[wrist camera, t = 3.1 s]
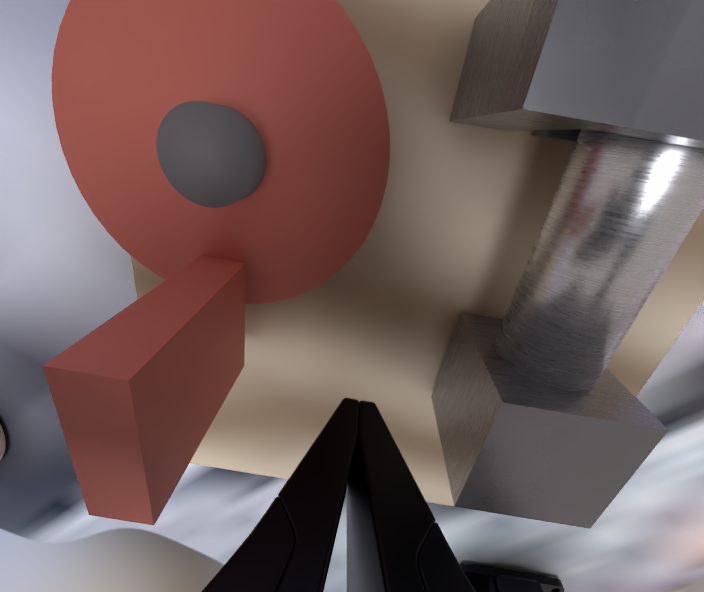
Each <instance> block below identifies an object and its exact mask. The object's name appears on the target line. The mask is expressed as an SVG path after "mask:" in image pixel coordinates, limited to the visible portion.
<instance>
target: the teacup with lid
mask: <svg viewBox="0 0 704 592" xmlns="http://www.w3.org/2000/svg"><path fill="white" fill-rule="evenodd" d="M5 447H6V440H5V435H4V432H3V429H2V427H1V425H0V461H1V459H2V457H3V455H4V452H5Z"/></svg>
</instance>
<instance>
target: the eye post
mask: <svg viewBox="0 0 704 592" xmlns="http://www.w3.org/2000/svg"><path fill="white" fill-rule="evenodd" d="M449 121H450V122H456V123H462V124H467V125H473V126H479V127H484V128H490V129H496V130H501V131H522V130H533V131H532V134H531V136H535V137H541V138H547V139H553V140H558V141H564V142H570V143H576V141H577V139H578V136H579V134H580V131H581V129H594V130H600V131H605V132H611V133H617V134H622V135H628V136H634V137H639V138H645V139H651V140H656V141H662V142H668V143H673V144H679V145H685V146H690V147H696V148H702V149H704V0H490V1H489V2H488V3H487V4H486V6H485V7H484V8H483V9H482V10H481V11H480V13H479V14H478V15H477V16H476V17H475V21H474V25H473V29H472V33H471V37H470V41H469V45H468V49H467V53H466V56H465V60H464V64H463V68H462V72H461V76H460V80H459V84H458V88H457V92H456V96H455V100H454V104H453V108H452V112H451V116H450V120H449Z"/></svg>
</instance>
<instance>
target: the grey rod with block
mask: <svg viewBox="0 0 704 592" xmlns="http://www.w3.org/2000/svg"><path fill="white" fill-rule="evenodd" d="M703 208H704V149H702V148H696V147H690V146H685V145H679V144H673V143H668V142H662V141H656V140H651V139H645V138H639V137H634V136H628V135H622V134H617V133H611V132H605V131H600V130H594V129H581V131H580V134H579V136H578V139H577V141H576V143H575V146H574V148H573V151H572V153H571V156H570V158H569V161H568V163H567V165H566V168H565V170H564V173H563V175H562V178H561V180H560V182H559V185H558V187H557V190H556V192H555V195H554V197H553V199H552V202H551V204H550V207H549V209H548V212H547V214H546V216H545V219H544V221H543V224H542V226H541V229H540V231H539V233H538V236H537V238H536V241H535V243H534V246H533V248H532V250H531V253H530V255H529V258H528V260H527V263H526V265H525V267H524V270H523V272H522V275H521V277H520V280H519V282H518V285H517V287H516V289H515V292H514V294H513V297H512V299H511V302H510V304H509V306H508V309H507V311H506V314H505V316H504V319H499V318H493V317H487V316H481V315H475V314H469V313H464V312H460V314H459V317H458V320H457V322H456V325H455V328H454V331H453V334H452V337H451V340H450V343H449V346H448V349H447V352H446V355H445V358H444V361H443V363H442V366H441V369H440V372H439V375H438V378H437V381H436V384H435V387H434V390H433V393H432V396H431V398H432V403H433V408H434V413H435V417H436V422H437V427H438V432H439V436H440V441H441V446H442V451H443V455H444V460H445V465H446V470H447V474H448V479H449V484H450V489H451V493H452V498H453V503H454V506H455V507H461V508H468V509H474V510H480V511H486V512H492V513H498V514H504V515H510V516H517V517H523V518H529V519H535V520H541V521H547V522H553V523H559V524H566V525H572V526H578V527H584V528H591V527H592V525H593V524H594V523H595V522H596V520H597V519H598V518H599V517H600V515H601V514H602V513H603V512H604V510H605V509H606V508H607V507H608V505H609V504H610V503H611V502H612V500H613V499H614V498H615V497H616V495H617V494H618V493H619V491H620V490H621V489H622V488H623V486H624V485H625V484H626V483H627V481H628V480H629V479H630V478H631V476H632V475H633V474H634V473H635V471H636V470H637V469H638V468H639V466H640V465H641V464H642V463H643V461H644V460H645V459H646V458H647V456H648V455H649V454H650V453H651V451H652V450H653V449H654V448H655V446H656V445H657V444H658V443H659V441H660V440H661V439H662V438H663V436H664V435H665V434H666V433H667V431H668V429H667V428H666V427H665V426H664V425H663V424H662V423H661V422H660V421H659V420H658V419H657V418H656V417H655V416H654V415H653V414H652V413H651V412H650V411H649V410H648V409H647V408H646V407H645V406H644V405H643V404H642V403H641V402H640V401H639V400H638V399H637V398H636V397H635V396H634V395H633V394H632V393H631V392H630V391H629V390H628V389H627V388H626V387H625V386H624V385H623V384H622V383H621V382H620V381H619V380H618V379H617V378H616V377H615V376H614V375H613V374H612V373H611V372H610V371H609V370H608V369H607V368H606V366H607V365H608V363H609V362H610V360H611V358H612V357H613V355H614V353H615V352H616V350H617V348H618V347H619V345H620V344H621V342H622V340H623V339H624V337H625V335H626V334H627V332H628V331H629V329H630V327H631V326H632V324H633V322H634V321H635V319H636V317H637V316H638V314H639V313H640V311H641V309H642V308H643V306H644V304H645V303H646V301H647V299H648V298H649V296H650V295H651V293H652V291H653V290H654V288H655V286H656V285H657V283H658V282H659V280H660V278H661V277H662V275H663V273H664V272H665V270H666V268H667V267H668V265H669V264H670V262H671V260H672V259H673V257H674V255H675V254H676V252H677V250H678V249H679V247H680V246H681V244H682V242H683V241H684V239H685V237H686V236H687V234H688V233H689V231H690V229H691V228H692V226H693V224H694V223H695V221H696V219H697V218H698V216H699V215H700V213H701V211H702V210H703Z"/></svg>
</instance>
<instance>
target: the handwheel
mask: <svg viewBox="0 0 704 592" xmlns="http://www.w3.org/2000/svg"><path fill="white" fill-rule="evenodd" d="M52 100H53V108H54V115H55V121H56V127H57V131H58V135H59V139H60V143H61V146H62V150H63V153H64V155H65V158H66V161H67V163H68V166H69V169H70V171H71V174H72V176H73V178H74V180H75V182H76V184H77V186H78V188H79V190H80V192H81V194H82V195H83V197H84V199H85V200H86V202H87V203H88V205H89V207H90V208H91V210H92V212H93V213H94V215H95V216H96V217H97V218H98V220H99V221H100V222H101V224H102V225H103V226H104V228H105V229H106V230H107V232H108V233H109V234H110V235H111V236H112V237H113V238H114V239H115V240H116V241H117V242H118V243H119V244H120V246H121V247H122V248H123V249H125V250H126V251H127V252H128V253H129V254H130V255H131V256H132V257H134V258H135V259H136V260H137V261H138V262H139V263H141V264H142V265H143V266H145V267H146V268H148V269H149V270H150V271H152V272H153V273H154V274H156V275H158V276H159V277H161V278H163V279H164V280H165V281H164V282H162V283H161V284H160V285H158V286H157V287H155V288H154V289H152V290H151V291H149V292H148V293H147V294H145V295H144V296H142V297H141V298H139V299H138V300H137V301H135V302H134V303H132V304H131V305H129V306H128V307H127V308H125V309H124V310H122V311H121V312H119V313H118V314H117V315H115V316H114V317H112V318H111V319H109V320H108V321H106V322H105V323H104V324H102V325H101V326H99V327H98V328H96V329H95V330H94V331H92V332H91V333H89V334H88V335H86V336H85V337H84V338H82V339H81V340H79V341H78V342H76V343H75V344H74V345H72V346H71V347H69V348H68V349H66V350H65V351H64V352H62V353H61V354H59V355H58V356H56V357H55V358H53V359H52V360H51V361H49V362H48V363H46V364H45V365H43V369H44V372H45V375H46V378H47V382H48V385H49V388H50V391H51V394H52V398H53V401H54V404H55V407H56V411H57V414H58V417H59V420H60V423H61V427H62V430H63V433H64V436H65V439H66V443H67V446H68V449H69V452H70V455H71V459H72V462H73V465H74V468H75V472H76V475H77V478H78V481H79V484H80V488H81V491H82V494H83V497H84V500H85V504H86V507H87V510H88V513H89V515H93V516H99V517H106V518H112V519H118V520H124V521H130V522H137V523H143V524H149V525H154V524H155V523H156V521H157V519H158V517H159V516H160V514H161V512H162V510H163V509H164V507H165V505H166V503H167V502H168V500H169V498H170V496H171V494H172V493H173V491H174V489H175V487H176V486H177V484H178V482H179V480H180V479H181V477H182V475H183V473H184V472H185V470H186V468H187V466H188V464H189V463H190V461H191V459H192V457H193V456H194V454H195V452H196V450H197V449H198V447H199V445H200V443H201V441H202V440H203V438H204V436H205V434H206V433H207V431H208V429H209V427H210V426H211V424H212V422H213V420H214V419H215V417H216V415H217V413H218V411H219V410H220V408H221V406H222V404H223V403H224V401H225V399H226V397H227V396H228V394H229V392H230V390H231V388H232V387H233V385H234V383H235V381H236V380H237V378H238V376H239V374H240V373H241V371H242V369H243V367H244V354H245V304H261V303H269V302H276V301H280V300H284V299H288V298H292V297H295V296H297V295H300V294H302V293H305V292H307V291H310V290H311V289H313V288H315V287H317V286H318V285H320V284H322V283H324V282H325V281H327V280H328V279H329V278H330V277H332V276H333V275H334V274H336V273H337V272H338V271H339V270H340V269H341V268H342V267H343V266H344V265H345V264H346V263H347V262H348V261H349V260H350V259H351V258H352V257H353V256H354V254H355V253H356V252H357V250H358V249H359V248H360V246H361V245H362V244H363V243H364V241H365V239H366V237H367V235H368V234H369V232H370V230H371V228H372V227H373V225H374V222H375V220H376V217H377V215H378V212H379V210H380V207H381V204H382V201H383V197H384V193H385V189H386V185H387V179H388V171H389V164H390V131H389V122H388V113H387V107H386V103H385V99H384V94H383V90H382V86H381V82H380V80H379V77H378V74H377V71H376V69H375V66H374V63H373V60H372V58H371V55H370V53H369V51H368V49H367V47H366V45H365V44H364V42H363V40H362V38H361V36H360V34H359V32H358V30H357V28H356V27H355V26H354V24H353V23H352V21H351V20H350V18H349V17H348V15H347V14H346V12H345V11H344V9H343V8H342V6H341V5H340V4H339V3H338V2H337V0H71V1H70V2H69V4H68V7H67V10H66V12H65V15H64V17H63V20H62V22H61V25H60V28H59V32H58V36H57V41H56V45H55V49H54V57H53V68H52Z"/></svg>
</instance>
